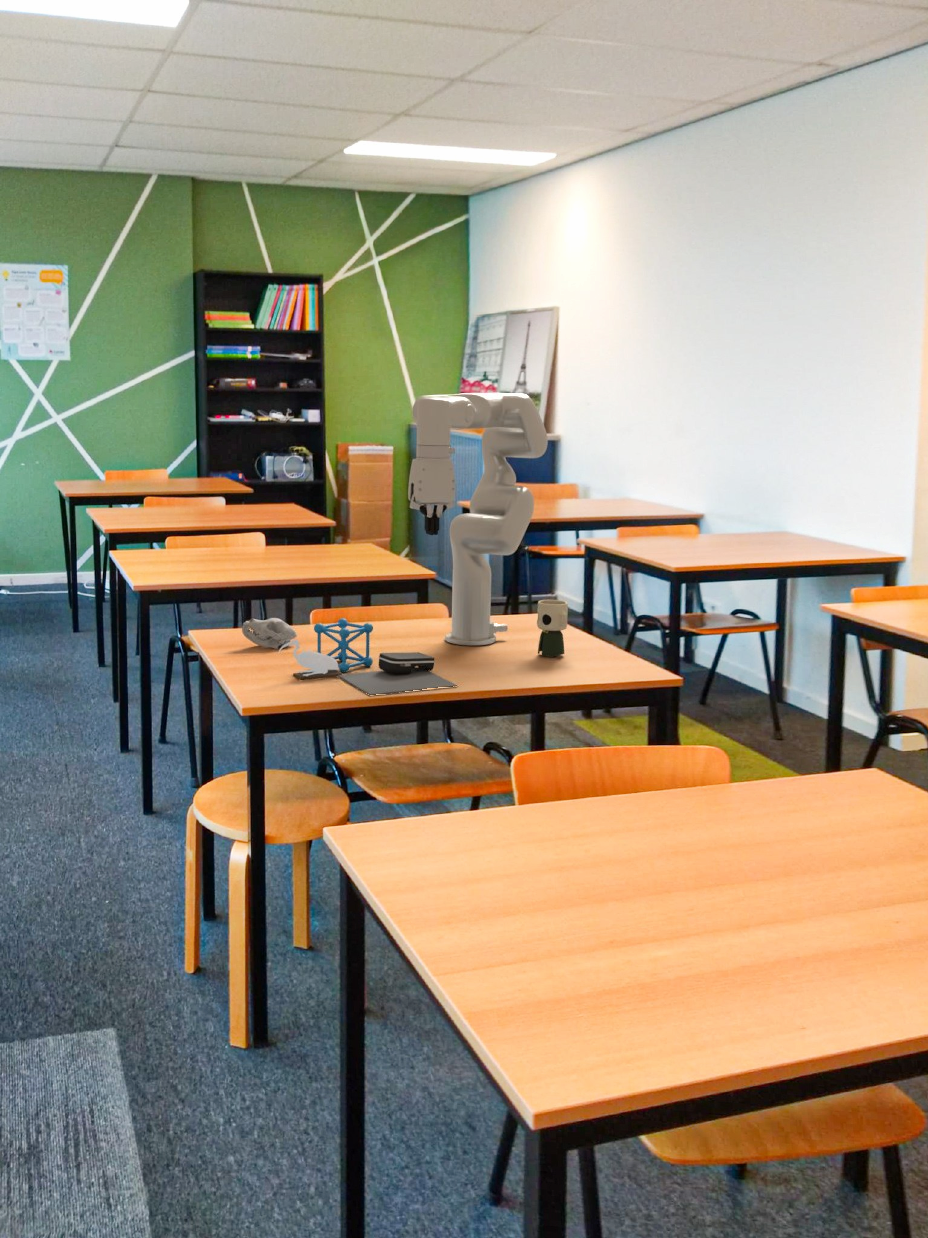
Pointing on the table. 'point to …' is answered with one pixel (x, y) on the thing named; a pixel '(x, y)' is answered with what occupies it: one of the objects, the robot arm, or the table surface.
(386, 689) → the mat
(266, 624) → the skull
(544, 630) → the character mug
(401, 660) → the battery charger
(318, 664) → the figurine
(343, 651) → the molecular structure
